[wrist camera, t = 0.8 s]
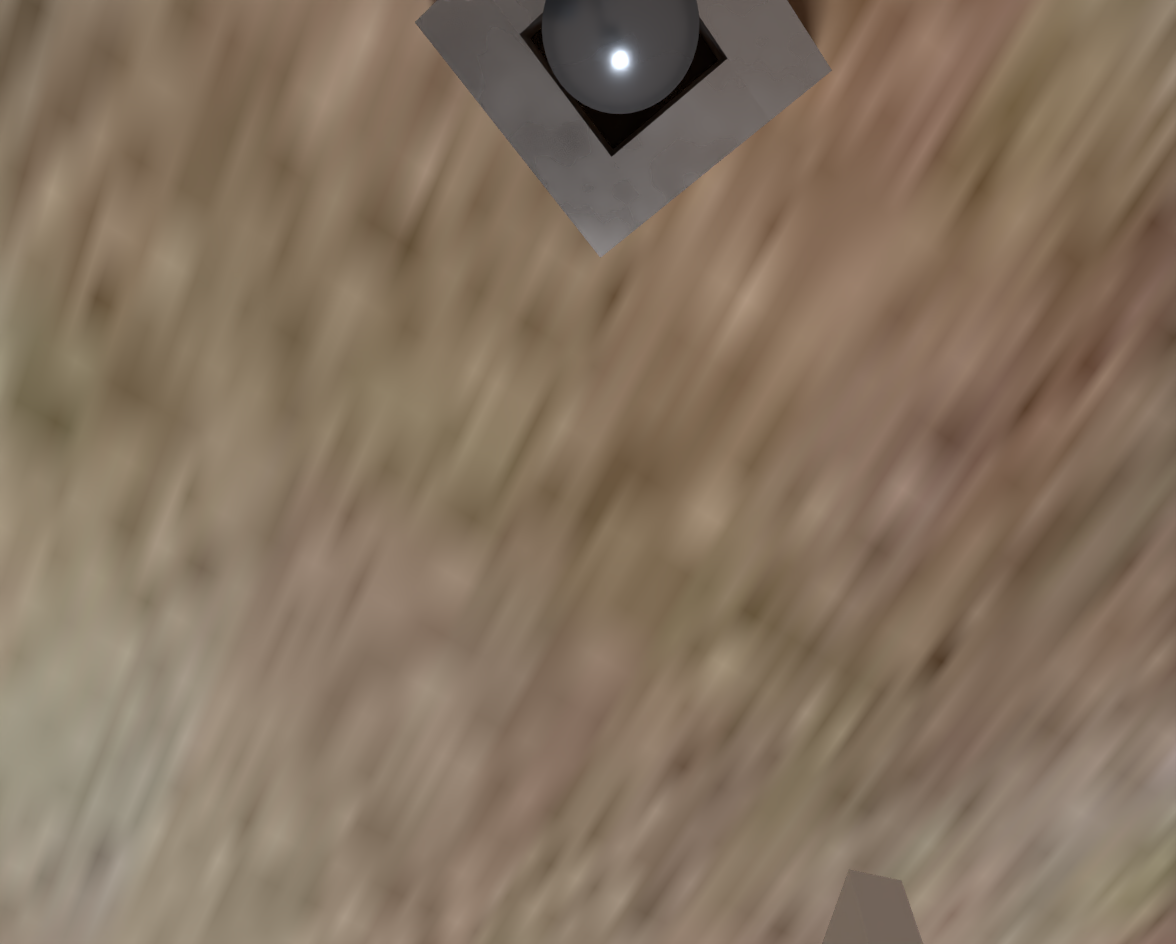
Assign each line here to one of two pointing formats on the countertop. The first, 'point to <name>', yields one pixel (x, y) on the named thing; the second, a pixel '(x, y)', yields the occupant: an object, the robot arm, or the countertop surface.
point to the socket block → (657, 148)
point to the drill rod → (620, 49)
